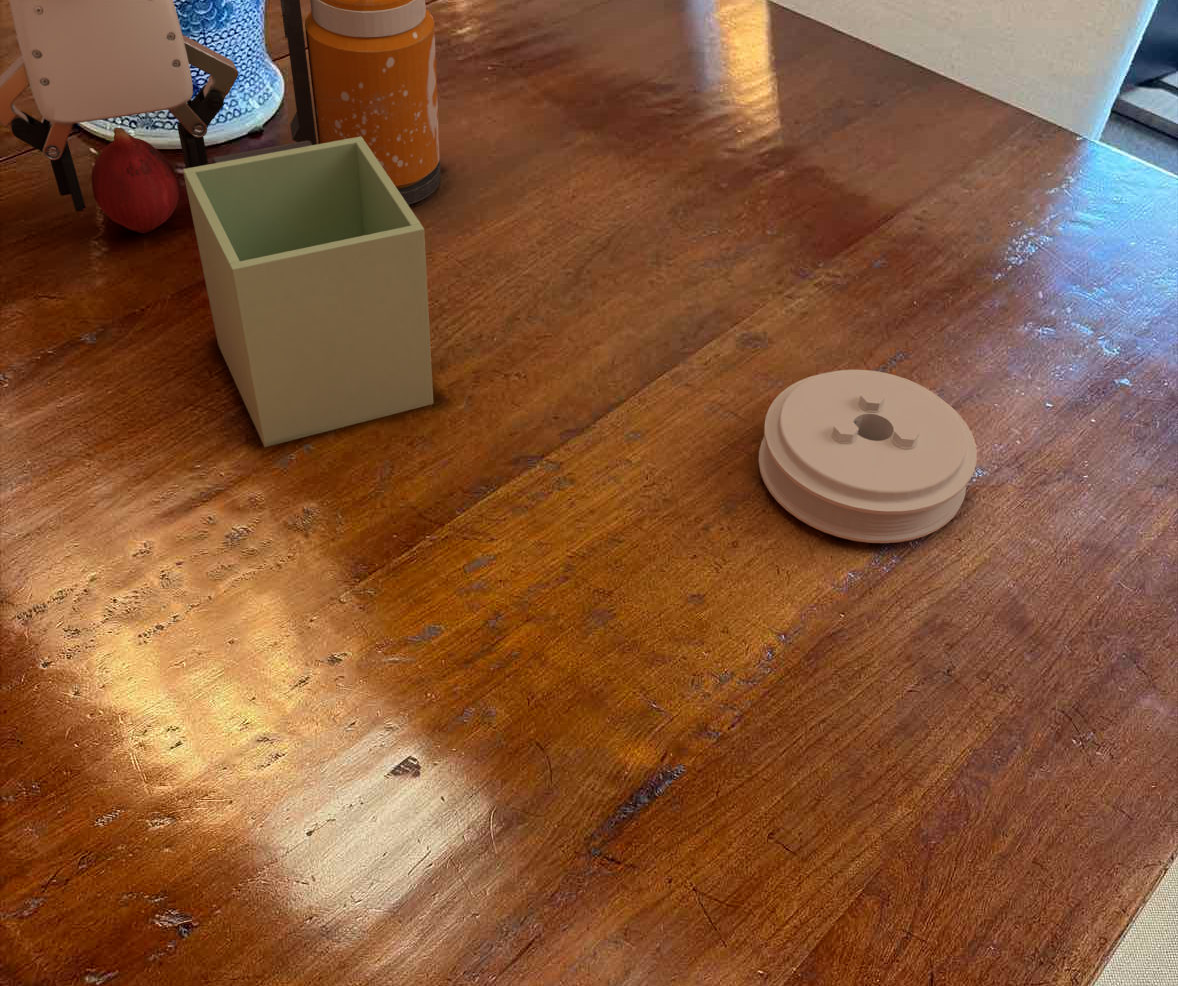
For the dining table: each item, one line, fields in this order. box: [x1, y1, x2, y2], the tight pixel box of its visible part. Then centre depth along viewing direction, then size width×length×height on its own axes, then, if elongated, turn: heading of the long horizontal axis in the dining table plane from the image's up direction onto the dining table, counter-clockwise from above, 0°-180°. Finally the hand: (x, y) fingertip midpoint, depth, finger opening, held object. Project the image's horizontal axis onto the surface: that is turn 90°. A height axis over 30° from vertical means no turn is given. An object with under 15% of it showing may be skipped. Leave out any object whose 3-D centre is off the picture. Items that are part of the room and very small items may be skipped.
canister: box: [280, 0, 442, 206], centre depth 93 cm, size 9×11×20 cm
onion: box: [91, 127, 181, 234], centre depth 92 cm, size 6×6×8 cm
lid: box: [758, 369, 978, 544], centre depth 79 cm, size 13×13×5 cm
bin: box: [182, 137, 434, 448], centre depth 81 cm, size 13×11×15 cm
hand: (137, 189), depth 92 cm, fingers open, 7 cm apart
